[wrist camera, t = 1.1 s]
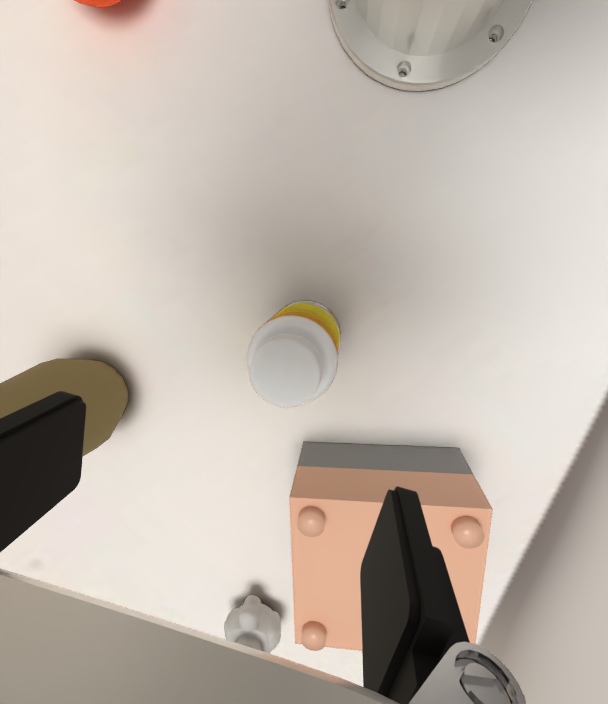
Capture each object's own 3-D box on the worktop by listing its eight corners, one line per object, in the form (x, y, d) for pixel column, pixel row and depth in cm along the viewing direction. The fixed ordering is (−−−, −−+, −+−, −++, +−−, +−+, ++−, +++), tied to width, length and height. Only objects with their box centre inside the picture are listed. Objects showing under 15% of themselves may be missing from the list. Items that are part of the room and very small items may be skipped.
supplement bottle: (276, 294, 29) (238, 316, 19) (345, 304, 29) (343, 331, 19) (269, 361, 31) (230, 413, 21) (335, 371, 30) (328, 429, 20)
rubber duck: (235, 628, 39) (207, 720, 31) (230, 578, 37) (198, 662, 30) (286, 633, 38) (269, 728, 31) (282, 582, 37) (264, 669, 29)
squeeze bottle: (132, 442, 34) (-87, 634, 17) (53, 413, 35) (-243, 573, 17) (149, 365, 32) (-85, 496, 15) (63, 334, 32) (-265, 428, 15)
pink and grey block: (303, 441, 32) (287, 504, 24) (458, 447, 31) (497, 517, 22) (306, 563, 36) (293, 654, 27) (446, 574, 34) (476, 675, 26)
